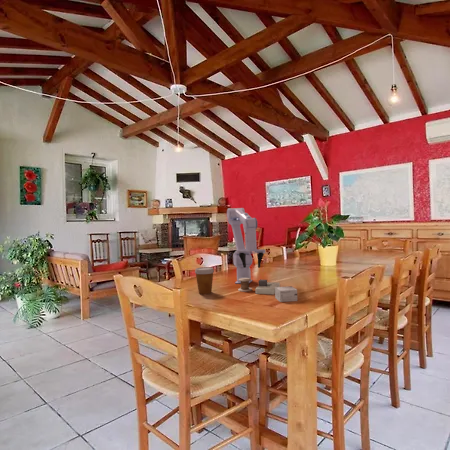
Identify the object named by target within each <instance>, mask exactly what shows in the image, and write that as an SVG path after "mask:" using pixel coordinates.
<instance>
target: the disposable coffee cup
mask: <svg viewBox="0 0 450 450" xmlns="http://www.w3.org/2000/svg"><path fill="white" fill-rule="evenodd" d="M214 272H215V270H214V268H213V267H210V266H207V267H196V268H195V270H194V274H195V278H196V285H197V291H198V294H199V295H207V294H208V295H209V294H211V293H212V291H213V289H212V288H213V280H214V279H213V278H214Z"/></svg>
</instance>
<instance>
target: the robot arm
mask: <svg viewBox="0 0 450 450" xmlns="http://www.w3.org/2000/svg"><path fill="white" fill-rule="evenodd" d="M245 211H246V210H245V208H244V207H237V208H235V207H233V208H230V207H229V208H227V210H226V219H227V222H228V225H230V226H231V230H232V234H233V238H234V239H233V240H234V243H235V248H236V250H235V251H234V253H233V255H232V261H233V265H234V267H235V268H236V281H235V282H234V284H241V281H239V279H240V278H250V279H251V280H250V281H249V284H250V283H252V282H253V279H252V275H251V274H252V273H251V268H250V267H251V266H252V265H253V257H252V254H256V256H257V268H261V264H262V261H263V257H264V254H266V249H265V248H264V249H261V248H260V249H257V229H258V219H257V218H256V217H252V216H250V215H249V213H248V212H245ZM241 225H242V227H243V232H244V236H245V237H243V234H242V233H243V232H242V228H241ZM244 239H245V240H244ZM244 241H245V242H244Z"/></svg>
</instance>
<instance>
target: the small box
mask: <svg viewBox="0 0 450 450" xmlns="http://www.w3.org/2000/svg"><path fill="white" fill-rule="evenodd" d="M274 299H276V300H277V301H278V302H280V303H283V302H285V303H286V302H287V303H289V302H298V289H297V288H295V287H293V286H292V285H290V286H289V285H288V286H280V287H275V294H274Z"/></svg>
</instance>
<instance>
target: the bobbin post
mask: <svg viewBox="0 0 450 450" xmlns="http://www.w3.org/2000/svg"><path fill="white" fill-rule="evenodd" d="M250 280H252V278H251V279H250V278H240V279H239V281H241V283H240V287H239V288H238V289H237V290H238V292H252V291H253V288H252V287H250V283H249V281H250Z"/></svg>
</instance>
